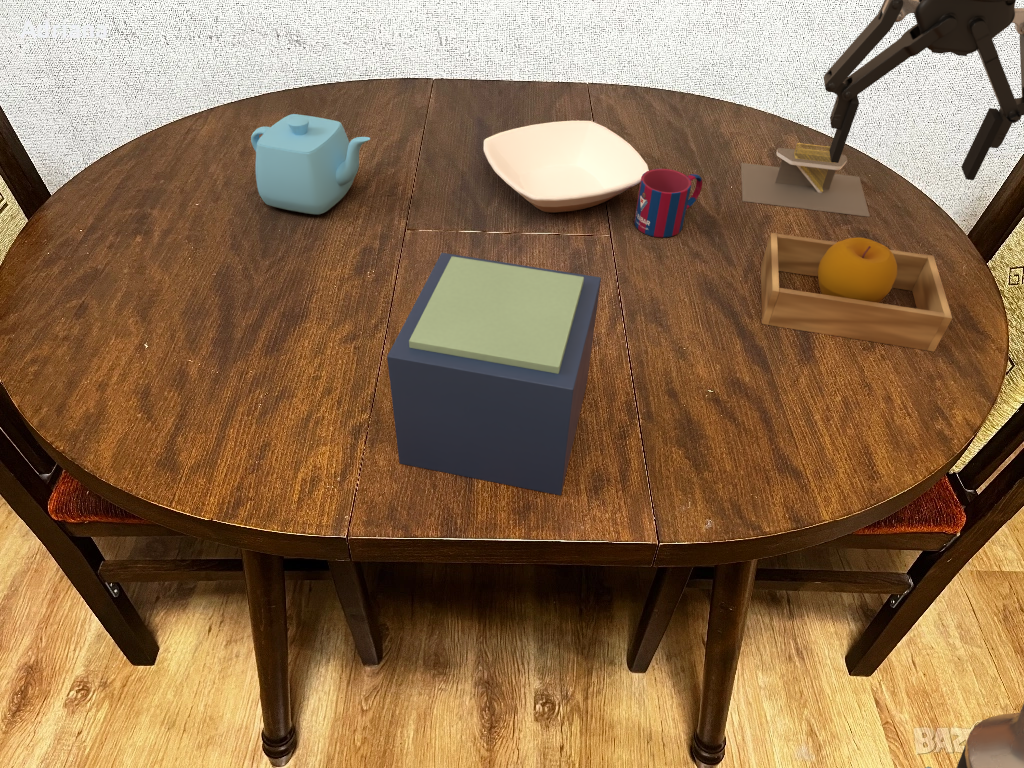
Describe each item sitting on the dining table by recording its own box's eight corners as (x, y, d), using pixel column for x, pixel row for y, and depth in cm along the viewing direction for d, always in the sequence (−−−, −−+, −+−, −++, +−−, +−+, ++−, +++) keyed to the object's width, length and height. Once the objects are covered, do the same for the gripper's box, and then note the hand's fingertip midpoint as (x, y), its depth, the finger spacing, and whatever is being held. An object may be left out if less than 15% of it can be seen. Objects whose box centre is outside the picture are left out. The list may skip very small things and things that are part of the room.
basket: (934, 351, 88) (952, 318, 85) (761, 324, 91) (772, 290, 88) (917, 288, 97) (933, 255, 94) (760, 265, 100) (770, 232, 97)
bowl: (592, 144, 123) (596, 113, 119) (663, 211, 109) (669, 178, 105) (467, 167, 117) (467, 135, 113) (525, 241, 102) (526, 207, 99)
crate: (561, 495, 72) (573, 389, 62) (399, 463, 74) (386, 356, 64) (587, 382, 83) (601, 277, 73) (445, 357, 85) (441, 252, 76)
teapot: (359, 232, 103) (349, 153, 95) (240, 208, 106) (221, 130, 98) (395, 188, 112) (388, 112, 104) (284, 167, 115) (270, 93, 107)
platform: (869, 216, 110) (886, 175, 105) (742, 201, 112) (753, 159, 107) (859, 176, 118) (874, 136, 113) (741, 162, 120) (751, 122, 116)
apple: (810, 323, 92) (834, 261, 85) (802, 281, 98) (824, 221, 92) (884, 331, 91) (913, 270, 85) (871, 289, 97) (897, 229, 91)
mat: (558, 374, 63) (559, 367, 63) (409, 347, 65) (408, 340, 65) (583, 283, 73) (584, 276, 72) (451, 262, 74) (451, 256, 74)
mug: (625, 217, 108) (631, 173, 103) (684, 203, 111) (693, 160, 106) (650, 242, 103) (658, 197, 98) (711, 226, 106) (722, 182, 102)
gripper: (1133, -57, 67) (1016, 163, 82) (840, -82, 71) (779, 134, 86) (1165, -32, 62) (1034, 199, 77) (847, -60, 66) (780, 166, 80)
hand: (899, 165), depth 81 cm, fingers open, 13 cm apart
